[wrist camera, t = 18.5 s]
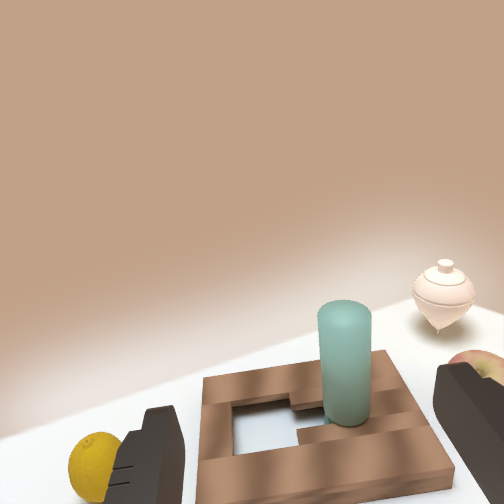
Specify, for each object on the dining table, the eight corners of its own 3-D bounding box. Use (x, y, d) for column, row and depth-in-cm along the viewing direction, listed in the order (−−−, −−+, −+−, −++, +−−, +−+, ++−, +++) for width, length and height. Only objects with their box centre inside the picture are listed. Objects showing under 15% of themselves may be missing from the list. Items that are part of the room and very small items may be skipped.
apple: (428, 390, 45) (434, 339, 42) (494, 386, 44) (505, 334, 41) (457, 450, 38) (467, 394, 34) (536, 447, 37) (554, 390, 34)
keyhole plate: (201, 527, 35) (195, 508, 33) (207, 395, 49) (203, 377, 48) (451, 488, 35) (455, 467, 33) (384, 368, 49) (384, 349, 48)
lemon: (91, 471, 41) (66, 423, 38) (140, 460, 42) (120, 411, 38) (77, 525, 36) (47, 474, 33) (133, 511, 37) (109, 460, 33)
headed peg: (331, 452, 40) (324, 335, 33) (320, 413, 44) (312, 304, 37) (376, 445, 40) (379, 326, 33) (361, 407, 44) (360, 296, 37)
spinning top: (398, 330, 55) (402, 261, 50) (431, 311, 58) (438, 243, 53) (444, 359, 49) (454, 283, 44) (479, 335, 52) (492, 261, 47)
